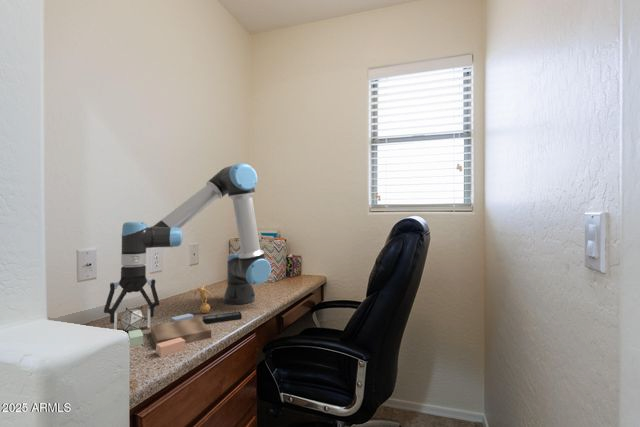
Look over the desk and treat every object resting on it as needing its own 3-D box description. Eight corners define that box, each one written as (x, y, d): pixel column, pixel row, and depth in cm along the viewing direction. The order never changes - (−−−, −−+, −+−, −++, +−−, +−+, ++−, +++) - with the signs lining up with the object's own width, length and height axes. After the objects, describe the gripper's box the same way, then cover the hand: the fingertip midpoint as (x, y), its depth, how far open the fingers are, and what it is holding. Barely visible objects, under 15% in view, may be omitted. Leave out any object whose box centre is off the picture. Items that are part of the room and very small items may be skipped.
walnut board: (198, 324, 115) (198, 317, 115) (211, 337, 102) (211, 330, 102) (150, 333, 106) (150, 325, 106) (157, 349, 93) (157, 340, 93)
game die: (133, 343, 106) (129, 325, 101) (114, 332, 108) (109, 314, 102) (154, 323, 113) (151, 306, 108) (136, 313, 115) (132, 296, 109)
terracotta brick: (179, 347, 95) (180, 337, 95) (185, 350, 93) (185, 340, 93) (156, 354, 90) (156, 344, 90) (160, 357, 87) (160, 347, 87)
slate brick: (189, 321, 119) (189, 313, 119) (193, 323, 117) (193, 315, 117) (170, 325, 114) (171, 317, 114) (174, 327, 112) (175, 319, 112)
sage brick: (128, 340, 100) (128, 331, 100) (140, 338, 102) (140, 329, 102) (130, 347, 94) (130, 338, 94) (143, 345, 96) (143, 335, 96)
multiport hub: (202, 322, 119) (202, 316, 119) (239, 317, 125) (239, 311, 125) (203, 325, 115) (203, 319, 115) (241, 320, 121) (242, 314, 121)
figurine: (216, 312, 130) (217, 284, 130) (209, 316, 124) (209, 287, 124) (198, 311, 131) (199, 283, 132) (190, 315, 125) (191, 286, 126)
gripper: (95, 269, 99) (93, 339, 98) (169, 264, 112) (168, 326, 111) (95, 266, 105) (93, 332, 104) (166, 261, 118) (164, 320, 117)
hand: (132, 329), depth 108 cm, fingers closed on game die, 9 cm apart
